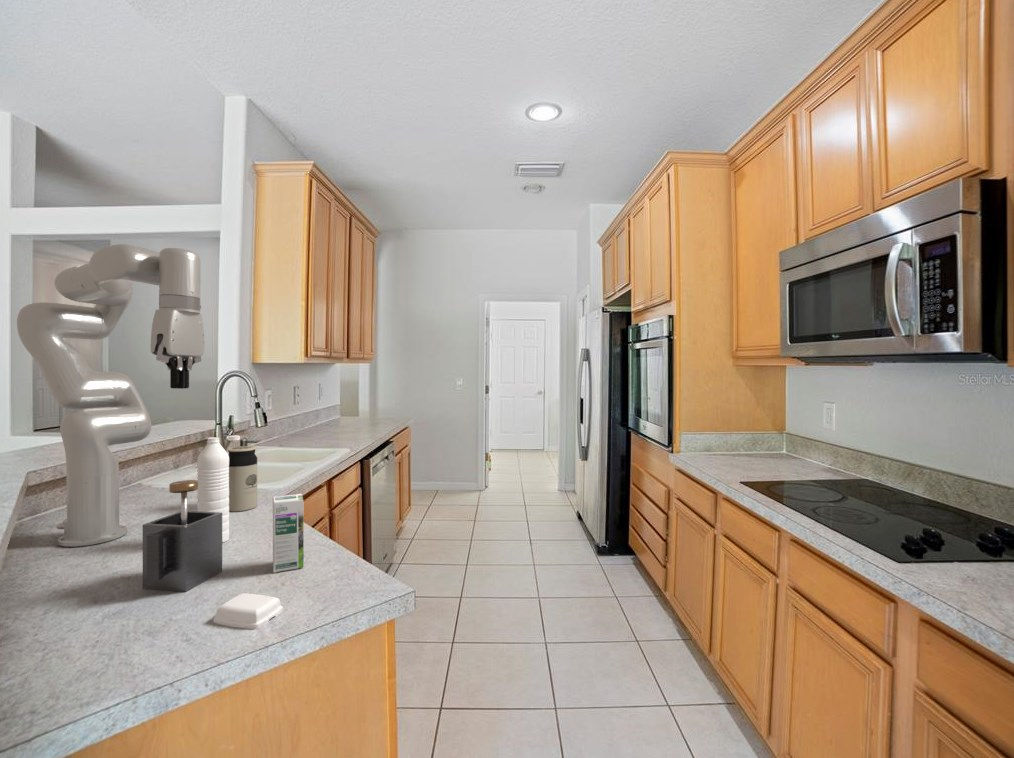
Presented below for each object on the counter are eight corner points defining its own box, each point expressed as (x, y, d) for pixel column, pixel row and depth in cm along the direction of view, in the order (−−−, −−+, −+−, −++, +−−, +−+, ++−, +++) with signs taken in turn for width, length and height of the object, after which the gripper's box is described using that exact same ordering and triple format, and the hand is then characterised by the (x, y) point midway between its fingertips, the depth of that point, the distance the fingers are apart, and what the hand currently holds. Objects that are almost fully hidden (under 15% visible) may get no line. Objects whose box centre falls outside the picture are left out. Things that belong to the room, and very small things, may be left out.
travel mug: (221, 509, 136) (221, 448, 136) (248, 503, 143) (248, 445, 143) (235, 513, 132) (235, 451, 132) (262, 507, 139) (262, 447, 139)
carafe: (130, 594, 84) (130, 528, 84) (182, 568, 95) (182, 510, 95) (175, 598, 83) (174, 531, 83) (222, 571, 94) (222, 512, 94)
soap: (286, 611, 79) (286, 594, 79) (256, 632, 73) (256, 614, 73) (242, 604, 81) (242, 588, 81) (209, 625, 75) (209, 607, 75)
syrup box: (272, 573, 93) (272, 502, 93) (272, 563, 98) (272, 495, 98) (303, 568, 96) (303, 498, 96) (301, 558, 101) (301, 492, 101)
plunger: (155, 568, 87) (154, 486, 87) (182, 555, 94) (182, 478, 94) (185, 570, 87) (185, 487, 86) (211, 557, 93) (211, 479, 93)
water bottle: (197, 548, 106) (197, 439, 106) (197, 539, 112) (197, 436, 111) (240, 541, 111) (240, 437, 111) (238, 533, 116) (238, 434, 116)
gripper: (192, 310, 111) (191, 387, 111) (133, 300, 96) (133, 389, 96) (220, 310, 110) (220, 387, 110) (165, 300, 95) (165, 389, 95)
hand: (179, 388), depth 103 cm, fingers closed
